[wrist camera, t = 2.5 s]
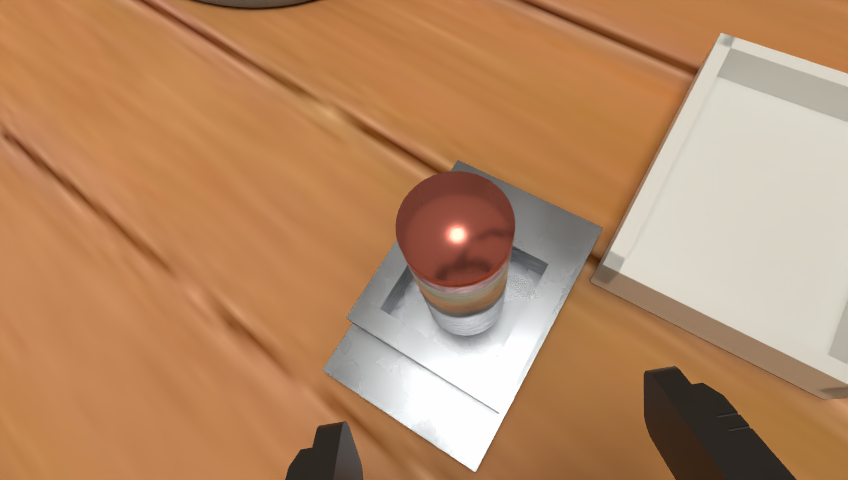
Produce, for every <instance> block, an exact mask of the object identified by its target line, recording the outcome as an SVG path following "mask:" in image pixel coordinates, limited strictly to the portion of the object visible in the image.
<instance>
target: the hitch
mask: <svg viewBox="0 0 848 480" xmlns="http://www.w3.org/2000/svg"><path fill="white" fill-rule="evenodd" d="M452 171H463V172H470V173H474V174H477V175H480V176H482V177H485V178H486V179H488V180H490V181H491V182H493V183H494V184H496V185H497V186H498V187H499V188H500V189H501V190H502V191H503V193H504V194H505V195H506V196H507V198H508V200H509V201H510V204H511V206H512V208H513V212H514V216H515V234H514V240H513V246H512V253H511V259H510V266H509V272H508V278H507V285H506V291H505V298H504V304H503V309H502V312H501V314H500V316H499V318H498V319H497V321H496V322H495V323H494V324H493V325H492V326H491V327H490V328H488V329H487V330H485V331H483V332H481V333H479V334H476V335H469V336H463V335H456V334H453V333H450V332H448V331H446V330H445V329H443V328H442V327H441V326H440V325H439V324H438V323H437V322H436V321H435V319H434V318H433V316H432V314H431V312H430V310H429V308H428V306H427V304H426V302H425V300H424V298H423V295H422V293H421V291H420V289H419V287H418V285H417V283H416V281H415V279H414V277H413V274H412V272H411V270H410V268H409V266H408V264H407V262H406V260H405V258H404V256H403V253H402V251H401V249H400V247H399V244H398V241H397V240H396V242H395V243H394V245H393V247H392V248H391V250H390V251H389V253H388V254H387V256H386V257H385V259H384V260H383V262H382V263H381V265H380V267H379V268H378V270H377V271H376V273H375V274H374V276H373V277H372V279H371V280H370V282H369V283H368V285H367V286H366V288H365V290H364V291H363V293H362V294H361V296H360V297H359V299H358V300H357V302H356V303H355V305H354V306H353V308H352V310H351V311H350V313H349V314H348V316H347V317H346V318H347V319H348V320H350V321H351V322H352V323H353V324H352V325H351V327H350V328H349V330H348V331H347V333H346V334H345V336H344V338H343V339H342V341H341V342H340V344H339V345H338V347H337V348H336V350H335V352H334V353H333V355H332V356H331V358H330V359H329V361H328V362H327V364H326V366H325V367H324V369H323V371H324V372H326V373H327V374H329V375H330V376H332V377H333V378H335V379H336V380H338V381H339V382H341V383H342V384H344V385H345V386H347V387H348V388H350V389H351V390H353V391H354V392H356V393H357V394H359V395H360V396H362V397H363V398H365V399H366V400H368V401H369V402H371V403H372V404H374V405H375V406H377V407H378V408H380V409H381V410H383V411H384V412H386V413H387V414H389V415H390V416H392V417H393V418H395V419H396V420H398V421H399V422H401V423H402V424H404V425H405V426H407V427H408V428H410V429H411V430H413V431H414V432H416V433H417V434H419V435H420V436H422V437H423V438H425V439H426V440H428V441H429V442H431V443H432V444H434V445H435V446H437V447H438V448H440V449H441V450H443V451H444V452H446V453H447V454H449V455H450V456H452V457H453V458H455V459H456V460H458V461H459V462H461V463H462V464H464V465H465V466H467V467H468V468H470V469H471V470H473V471H474V472H476V470H477V468H478V466H479V464H480V462H481V460H482V458H483V456H484V455H485V453H486V451H487V449H488V447H489V445H490V443H491V441H492V439H493V437H494V435H495V434H496V432H497V430H498V428H499V426H500V424H501V422H502V420H503V418H504V416H505V414H506V412H507V411H508V409H509V407H510V405H511V403H512V401H513V399H514V397H515V395H516V393H517V391H518V389H519V388H520V386H521V384H522V382H523V380H524V378H525V376H526V374H527V372H528V370H529V368H530V367H531V365H532V363H533V361H534V359H535V357H536V355H537V353H538V351H539V349H540V347H541V345H542V344H543V342H544V340H545V338H546V336H547V334H548V332H549V330H550V328H551V326H552V324H553V322H554V321H555V319H556V317H557V315H558V313H559V311H560V309H561V307H562V305H563V303H564V301H565V300H566V298H567V296H568V294H569V292H570V290H571V288H572V286H573V284H574V282H575V280H576V278H577V277H578V275H579V273H580V271H581V269H582V267H583V265H584V263H585V261H586V259H587V257H588V256H589V254H590V252H591V250H592V248H593V246H594V244H595V242H596V240H597V238H598V236H599V234H600V233H601V231H602V229H603V228H602V227H600V226H598V225H596V224H594V223H591V222H589V221H587V220H585V219H583V218H581V217H579V216H576V215H574V214H572V213H570V212H568V211H566V210H564V209H561V208H559V207H557V206H555V205H553V204H551V203H549V202H546V201H544V200H542V199H540V198H538V197H536V196H534V195H531V194H529V193H527V192H525V191H523V190H521V189H519V188H516V187H514V186H512V185H510V184H508V183H506V182H504V181H501V180H499V179H497V178H495V177H493V176H491V175H489V174H486V173H484V172H482V171H480V170H478V169H476V168H474V167H471V166H469V165H467V164H465V163H463V162H461V161H459V160H458V161H457V162H456V164H455V165H454V167H453V168H452V170H451V172H452Z"/></svg>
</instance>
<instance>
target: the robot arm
mask: <svg viewBox="0 0 848 480" xmlns="http://www.w3.org/2000/svg"><path fill="white" fill-rule="evenodd" d="M644 417H645V423H646V426H647V429H648V432H649V435H650V437H651V439H652V441H653V442H654V444H655V446H656V447H657V449H658V451H659V452H660V454H661V456H662V457H663V459H664V461H665V462H666V464H667V466H668V467H669V469H670V471H671V472H672V474H673V476H674V477H675V479H676V480H796V479H795V477H794V476H793V475H792V474H791V473H790V472H789V471H788V469H787V468H786V467H785V466H784V465H783V464H782V463H781V461H780V460H779V459H778V458H777V457H776V456H775V454H774V453H773V452H772V451H771V450H770V449H769V448H768V446H767V445H766V444H765V443H764V442H763V441H762V439H761V438H760V437H759V436H758V435H757V434H756V433H755V431H754V430H753V429H750V427H749V425H748V423H747V422H746V421H745V420H744V419H743V418H742V416H741V415H738V413H737V411H736V410H735V408H734V407H733V406H732V405H731V404H730V403H729V402H728V400H727V399H726V398H725V397H724V396H723V395H722V394H720V393H719V392H717V391H715V390H714V389H712V388H710V387H709V386H707V385H706V384H704V383H698V384H691V383H690V382H689V381H688V379H687V378H686V377H685V376H684V374H683V373H682V372H681V371H680V370H679V369H678V368H677V367H675V366H672V367H666V368H660V369H654V370H649V371H645V373H644ZM285 480H363V472H362V465H361V461H360V458H359V455H358V452H357V449H356V446H355V443H354V440H353V437H352V434H351V431H350V428H349V425H348V423H347V422H339V423H333V424H327V425H321V426H319V427H318V428H317V431H316V435H315V439H314V443H313V448H307V449H301V450H300V452H299V453H298V454H297V456H296V457H295V459H294V460H293V462H292V463H291V465H290V466H289V468H288V472H287V476H286V479H285Z"/></svg>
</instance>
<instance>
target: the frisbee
mask: <svg viewBox="0 0 848 480" xmlns="http://www.w3.org/2000/svg"><path fill="white" fill-rule="evenodd" d="M199 1H203V2H207V3H213V4H218V5H225V6H233V7H248V8H260V7H276V6H285V5H291V4H297V3H302V2H306V1H311V0H199Z"/></svg>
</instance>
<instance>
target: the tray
mask: <svg viewBox="0 0 848 480" xmlns="http://www.w3.org/2000/svg"><path fill="white" fill-rule="evenodd" d="M590 282H591V283H593V284H595V285H597V286H599V287H601V288H603V289H605V290H607V291H609V292H611V293H613V294H615V295H617V296H619V297H621V298H623V299H625V300H627V301H629V302H631V303H633V304H635V305H637V306H639V307H641V308H643V309H645V310H647V311H649V312H651V313H653V314H655V315H657V316H659V317H661V318H662V319H664V320H666V321H668V322H670V323H672V324H674V325H676V326H678V327H680V328H682V329H684V330H686V331H688V332H690V333H692V334H694V335H696V336H698V337H700V338H702V339H704V340H706V341H708V342H710V343H712V344H714V345H716V346H718V347H720V348H722V349H724V350H726V351H728V352H730V353H732V354H734V355H736V356H738V357H740V358H742V359H744V360H746V361H748V362H750V363H752V364H754V365H756V366H758V367H760V368H762V369H764V370H766V371H768V372H770V373H772V374H774V375H776V376H778V377H780V378H782V379H784V380H786V381H788V382H790V383H792V384H794V385H796V386H797V387H799V388H801V389H803V390H805V391H807V392H809V393H811V394H813V395H815V396H817V397H819V398H821V399H823V400H827V399H840V398H848V74H847V73H844V72H841V71H838V70H834V69H831V68H828V67H825V66H822V65H819V64H816V63H813V62H810V61H807V60H804V59H801V58H797V57H794V56H791V55H788V54H785V53H782V52H779V51H776V50H773V49H770V48H767V47H764V46H761V45H757V44H754V43H751V42H748V41H745V40H742V39H739V38H736V37H733V36H730V35H727V34H724V33H721V34H720V35H719V37H718V38H717V40H716V42H715V43H714V45H713V47H712V48H711V50H710V52H709V53H708V55H707V57H706V58H705V60H704V62H703V63H702V65H701V67H700V68H699V70H698V72H697V74H696V76H695V78H694V80H693V82H692V84H691V85H690V87H689V89H688V91H687V93H686V95H685V97H684V99H683V101H682V103H681V105H680V107H679V109H678V111H677V113H676V115H675V117H674V119H673V121H672V122H671V124H670V126H669V128H668V130H667V132H666V134H665V136H664V138H663V140H662V142H661V144H660V146H659V148H658V150H657V152H656V154H655V156H654V158H653V160H652V161H651V163H650V165H649V167H648V169H647V171H646V173H645V175H644V177H643V179H642V181H641V183H640V185H639V187H638V189H637V191H636V193H635V195H634V197H633V199H632V200H631V202H630V204H629V206H628V208H627V210H626V212H625V214H624V216H623V218H622V220H621V222H620V224H619V226H618V228H617V230H616V232H615V234H614V236H613V237H612V239H611V241H610V243H609V245H608V247H607V249H606V251H605V253H604V255H603V257H602V259H601V261H600V263H599V265H598V267H597V269H596V271H595V273H594V275H593V276H592V278H591V280H590Z"/></svg>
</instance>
